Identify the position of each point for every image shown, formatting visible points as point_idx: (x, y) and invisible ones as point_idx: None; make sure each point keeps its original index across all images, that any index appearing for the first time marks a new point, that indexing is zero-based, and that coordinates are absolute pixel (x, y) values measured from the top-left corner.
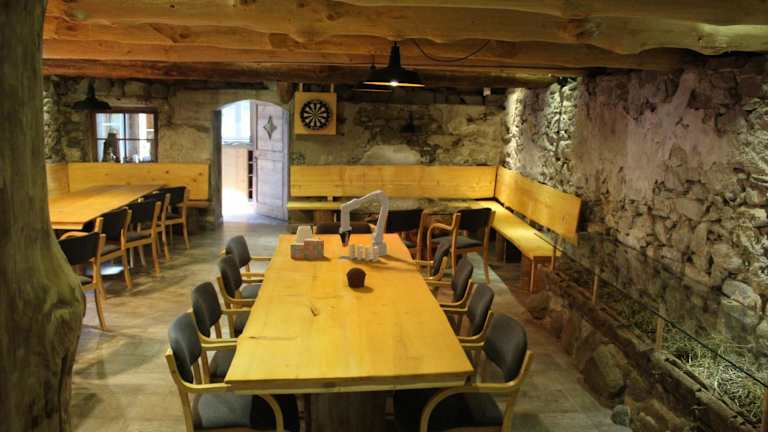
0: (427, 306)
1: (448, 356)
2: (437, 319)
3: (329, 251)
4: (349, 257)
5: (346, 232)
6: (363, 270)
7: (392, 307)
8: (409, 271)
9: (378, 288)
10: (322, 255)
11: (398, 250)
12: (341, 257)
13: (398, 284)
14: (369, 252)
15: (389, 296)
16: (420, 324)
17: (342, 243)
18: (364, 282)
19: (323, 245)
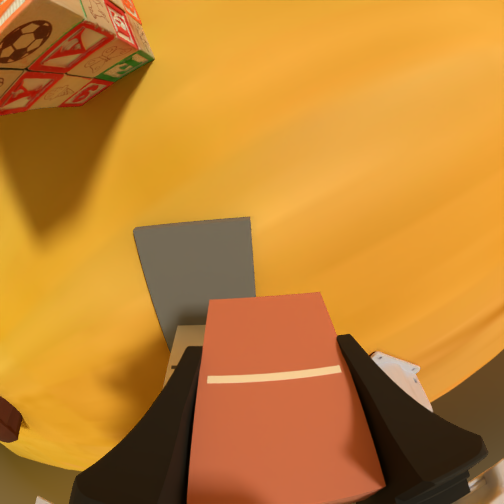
0: (57, 464)
1: (16, 452)
2: (44, 462)
3: (386, 12)
4: (176, 334)
5: (354, 499)
6: (9, 442)
7: (20, 440)
8: None
9: (37, 434)
10: (80, 95)
11: (464, 374)
12: (181, 251)
13: (82, 457)
14: None
15: (35, 442)
16: (25, 451)
17: (204, 337)
18: (20, 422)
19: (78, 39)
